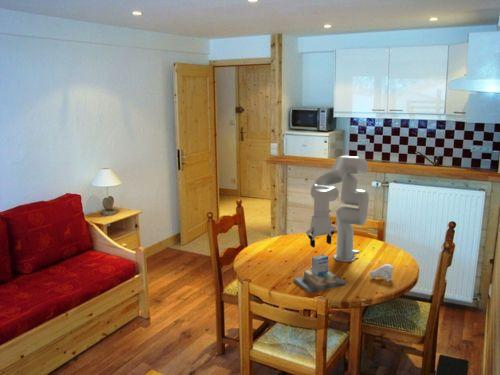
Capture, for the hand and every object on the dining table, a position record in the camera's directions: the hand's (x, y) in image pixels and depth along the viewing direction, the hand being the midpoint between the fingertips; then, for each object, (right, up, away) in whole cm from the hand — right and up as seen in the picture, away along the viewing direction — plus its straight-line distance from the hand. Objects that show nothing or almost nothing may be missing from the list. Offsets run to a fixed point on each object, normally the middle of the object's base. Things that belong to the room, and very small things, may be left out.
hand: (320, 245), depth 236 cm
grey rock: (+33, -19, +8) cm, 40 cm away
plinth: (0, -20, +4) cm, 21 cm away
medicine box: (0, -15, +3) cm, 15 cm away
